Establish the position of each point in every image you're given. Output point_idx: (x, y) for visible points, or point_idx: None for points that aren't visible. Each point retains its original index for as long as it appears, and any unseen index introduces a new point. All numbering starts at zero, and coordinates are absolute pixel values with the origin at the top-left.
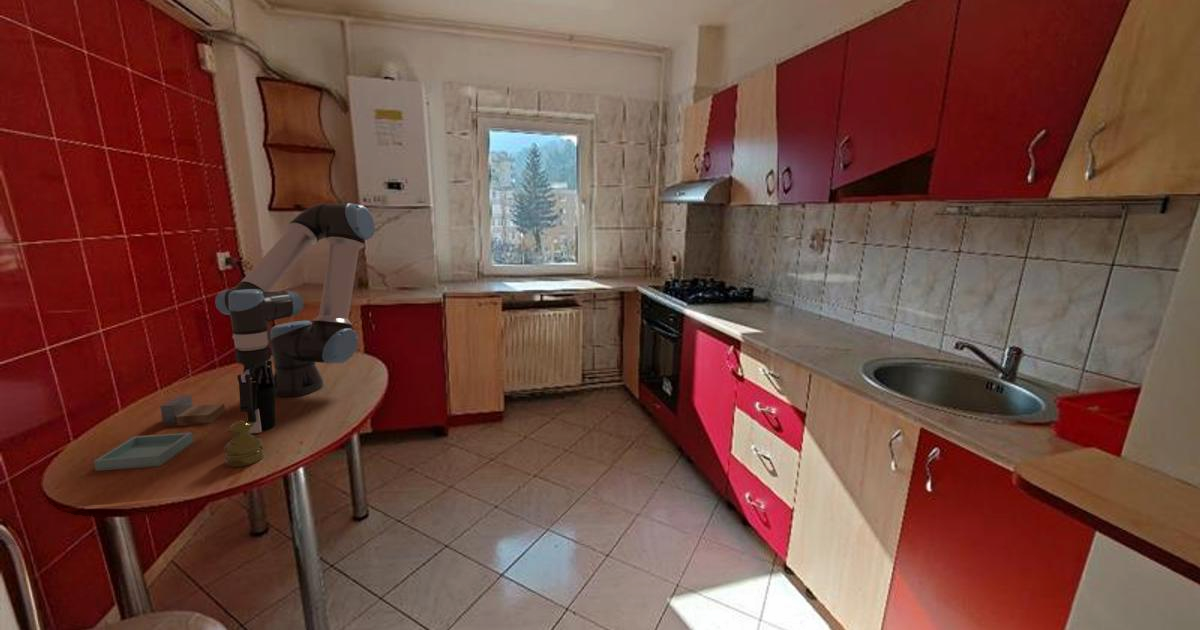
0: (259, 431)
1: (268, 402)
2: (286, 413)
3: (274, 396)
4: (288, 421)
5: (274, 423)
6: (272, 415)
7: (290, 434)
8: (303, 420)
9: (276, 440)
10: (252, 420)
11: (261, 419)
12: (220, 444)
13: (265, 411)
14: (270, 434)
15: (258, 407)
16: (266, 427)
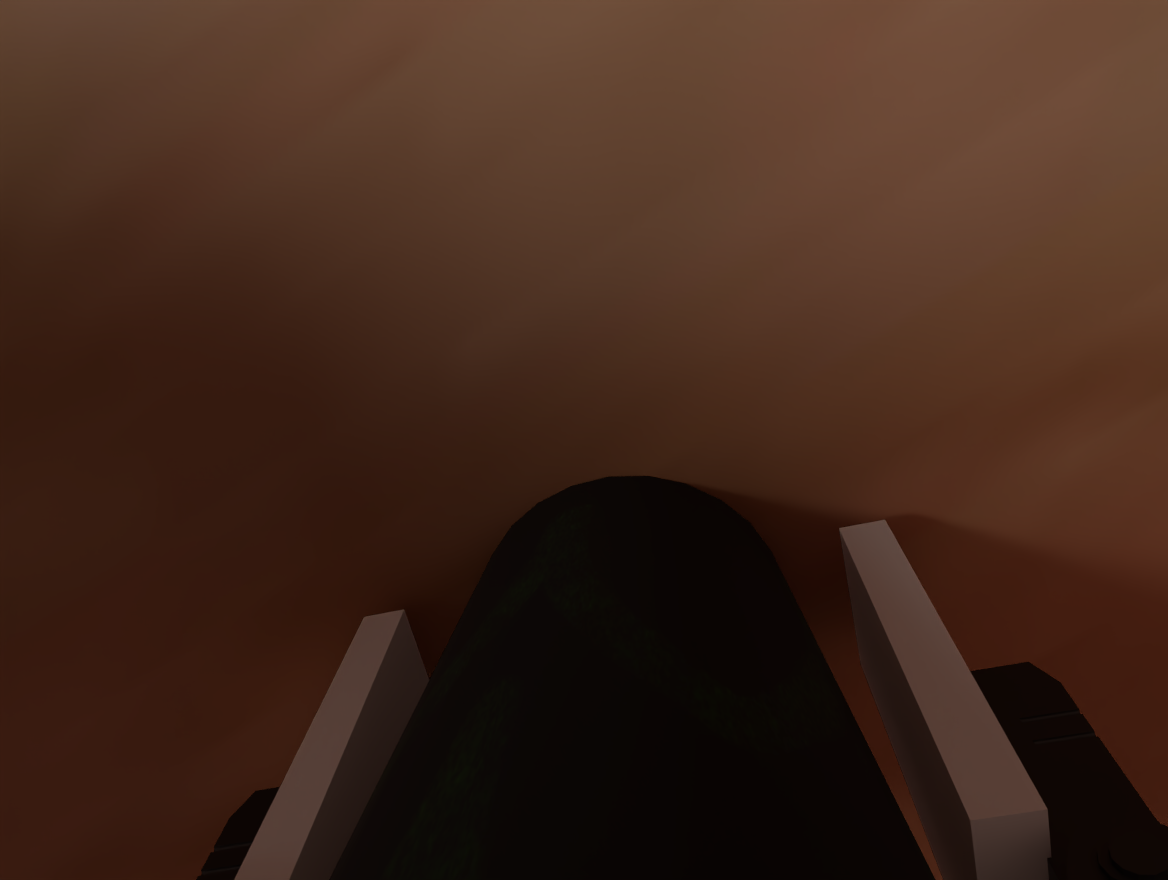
0: (893, 538)
1: (763, 793)
2: (95, 612)
3: (478, 848)
4: (362, 401)
5: (583, 502)
6: (638, 568)
7: (889, 9)
8: (283, 168)
9: (1130, 108)
10: (1070, 712)
11: (818, 650)
12: (1146, 800)
13: (803, 687)
14: (868, 368)
15: (923, 866)
16: (741, 528)
